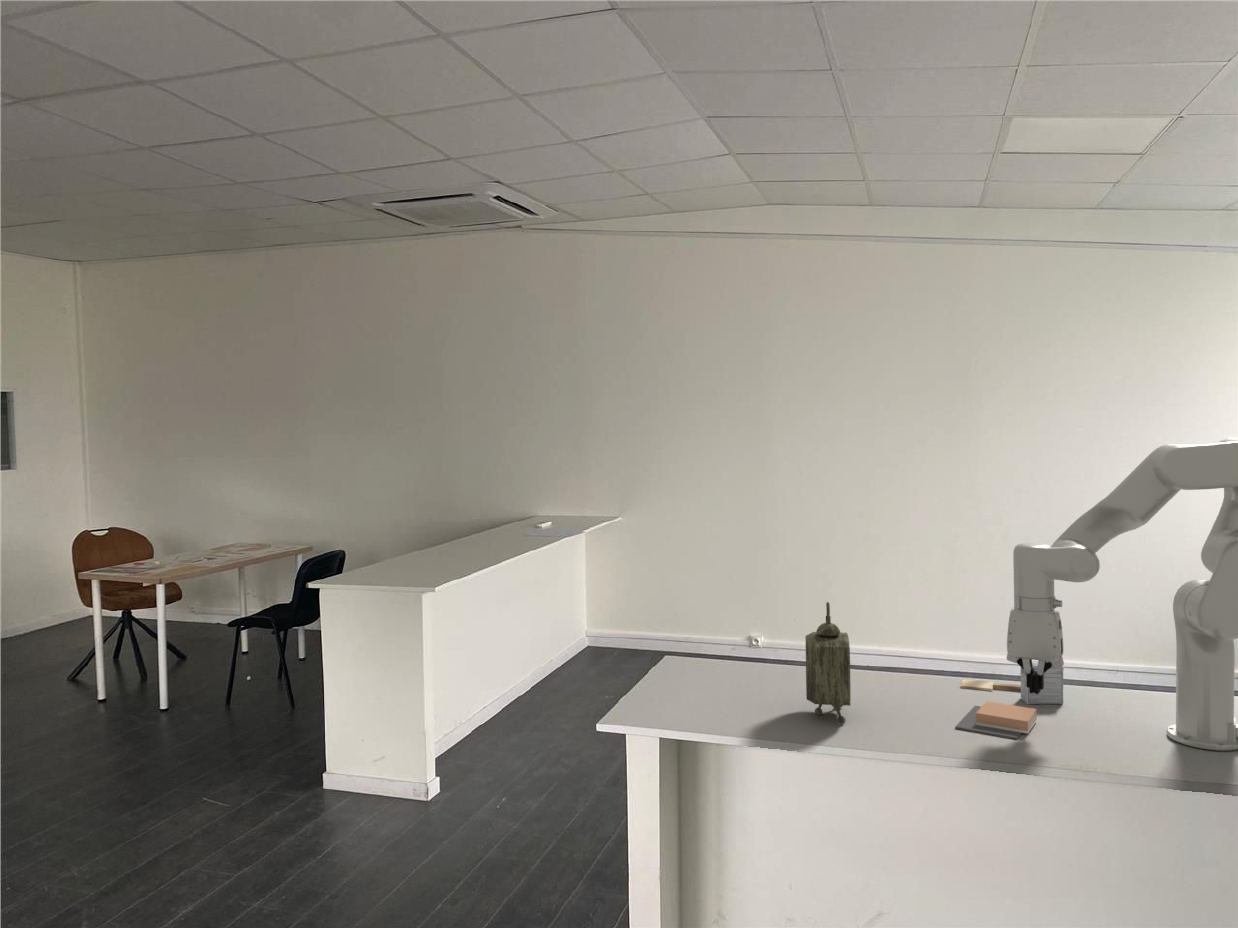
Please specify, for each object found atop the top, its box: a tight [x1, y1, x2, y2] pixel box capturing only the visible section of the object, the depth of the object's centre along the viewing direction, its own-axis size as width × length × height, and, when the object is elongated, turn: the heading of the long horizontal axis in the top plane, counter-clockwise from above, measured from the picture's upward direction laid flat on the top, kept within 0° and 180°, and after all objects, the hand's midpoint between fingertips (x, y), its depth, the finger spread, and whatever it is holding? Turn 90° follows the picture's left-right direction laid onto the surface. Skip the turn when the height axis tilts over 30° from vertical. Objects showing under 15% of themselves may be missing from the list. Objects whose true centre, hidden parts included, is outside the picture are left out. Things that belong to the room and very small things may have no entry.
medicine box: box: [1020, 661, 1064, 705], centre depth 198 cm, size 8×4×9 cm, turn 84°
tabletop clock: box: [804, 601, 851, 725], centre depth 192 cm, size 14×9×25 cm, turn 168°
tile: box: [976, 701, 1038, 735], centre depth 184 cm, size 2×9×10 cm
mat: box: [954, 705, 1023, 740], centre depth 186 cm, size 12×16×1 cm
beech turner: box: [960, 678, 1021, 692], centre depth 209 cm, size 17×6×1 cm, turn 64°
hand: (1035, 691), depth 181 cm, fingers closed
